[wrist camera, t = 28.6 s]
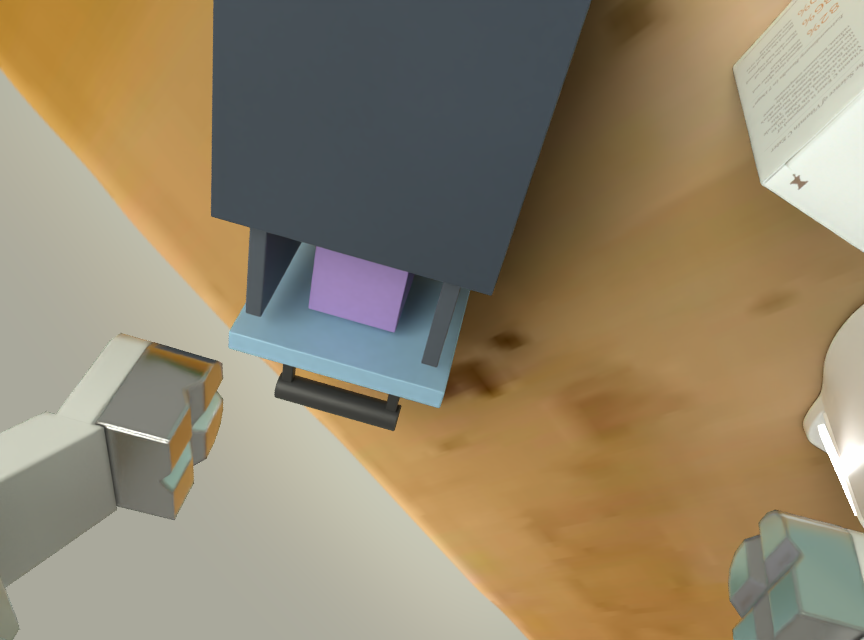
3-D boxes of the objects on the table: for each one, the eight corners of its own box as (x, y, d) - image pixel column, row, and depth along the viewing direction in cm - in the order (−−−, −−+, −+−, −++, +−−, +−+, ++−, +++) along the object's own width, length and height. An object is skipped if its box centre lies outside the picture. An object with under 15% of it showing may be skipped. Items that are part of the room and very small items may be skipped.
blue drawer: (445, 370, 49) (418, 476, 43) (276, 323, 49) (225, 421, 43) (529, 98, 36) (508, 192, 30) (302, 34, 37) (235, 115, 30)
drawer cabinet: (518, 172, 40) (491, 296, 33) (289, 108, 40) (210, 216, 33) (616, -133, 31) (611, -57, 23) (316, -216, 31) (214, -168, 23)
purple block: (431, 206, 40) (410, 264, 36) (415, 273, 43) (394, 333, 39) (346, 182, 40) (316, 237, 36) (335, 250, 43) (307, 308, 39)
